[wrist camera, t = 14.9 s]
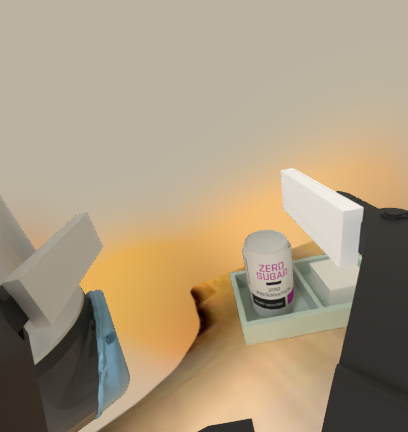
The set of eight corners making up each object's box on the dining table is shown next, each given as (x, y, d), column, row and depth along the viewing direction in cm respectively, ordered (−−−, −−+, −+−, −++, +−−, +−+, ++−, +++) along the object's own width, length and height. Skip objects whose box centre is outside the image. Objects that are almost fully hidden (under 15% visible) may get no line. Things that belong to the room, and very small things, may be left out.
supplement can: (273, 282, 50) (267, 223, 43) (304, 307, 43) (302, 240, 36) (243, 300, 47) (232, 240, 41) (270, 329, 40) (262, 262, 34)
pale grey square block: (329, 309, 41) (330, 290, 39) (309, 281, 48) (309, 263, 46) (371, 301, 41) (374, 281, 39) (345, 274, 48) (346, 255, 46)
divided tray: (245, 345, 39) (242, 328, 37) (232, 288, 52) (229, 273, 50) (403, 316, 38) (408, 296, 36) (350, 264, 51) (351, 248, 49)
